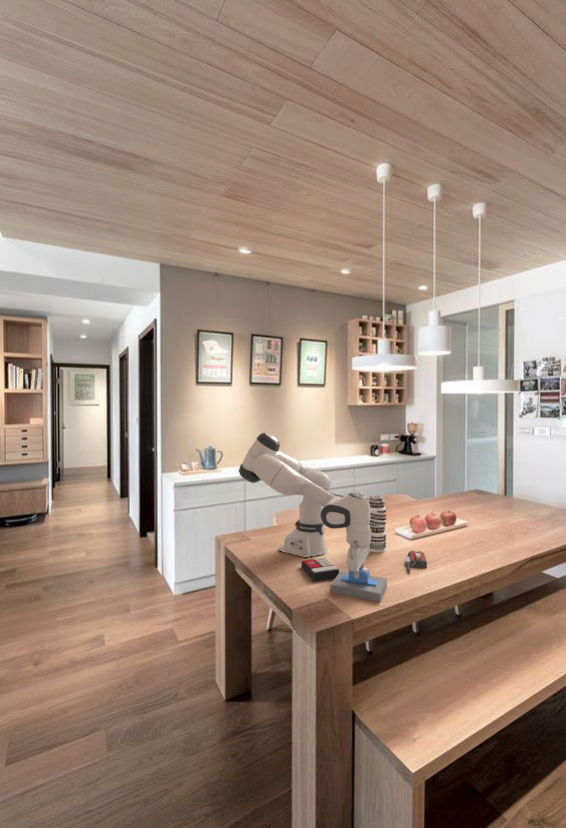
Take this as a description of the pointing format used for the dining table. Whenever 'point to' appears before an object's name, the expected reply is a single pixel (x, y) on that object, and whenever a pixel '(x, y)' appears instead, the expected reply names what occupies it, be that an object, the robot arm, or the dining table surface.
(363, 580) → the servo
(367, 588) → the chassis deck
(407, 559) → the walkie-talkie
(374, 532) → the white patterned cylinder
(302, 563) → the calculator
